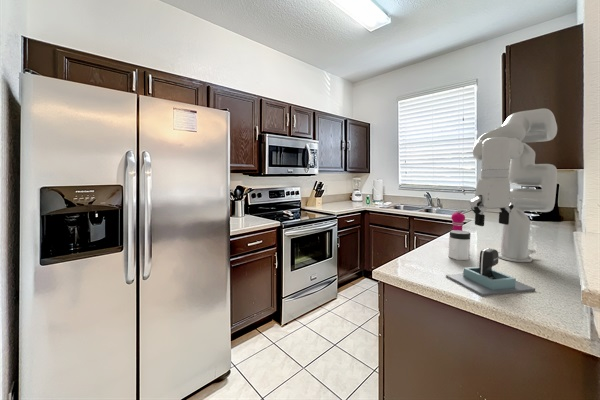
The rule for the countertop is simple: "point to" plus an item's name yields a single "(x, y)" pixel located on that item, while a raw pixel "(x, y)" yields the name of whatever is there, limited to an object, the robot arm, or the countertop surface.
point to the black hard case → (487, 262)
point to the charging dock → (489, 282)
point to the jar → (459, 245)
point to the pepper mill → (458, 220)
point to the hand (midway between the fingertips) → (491, 224)
